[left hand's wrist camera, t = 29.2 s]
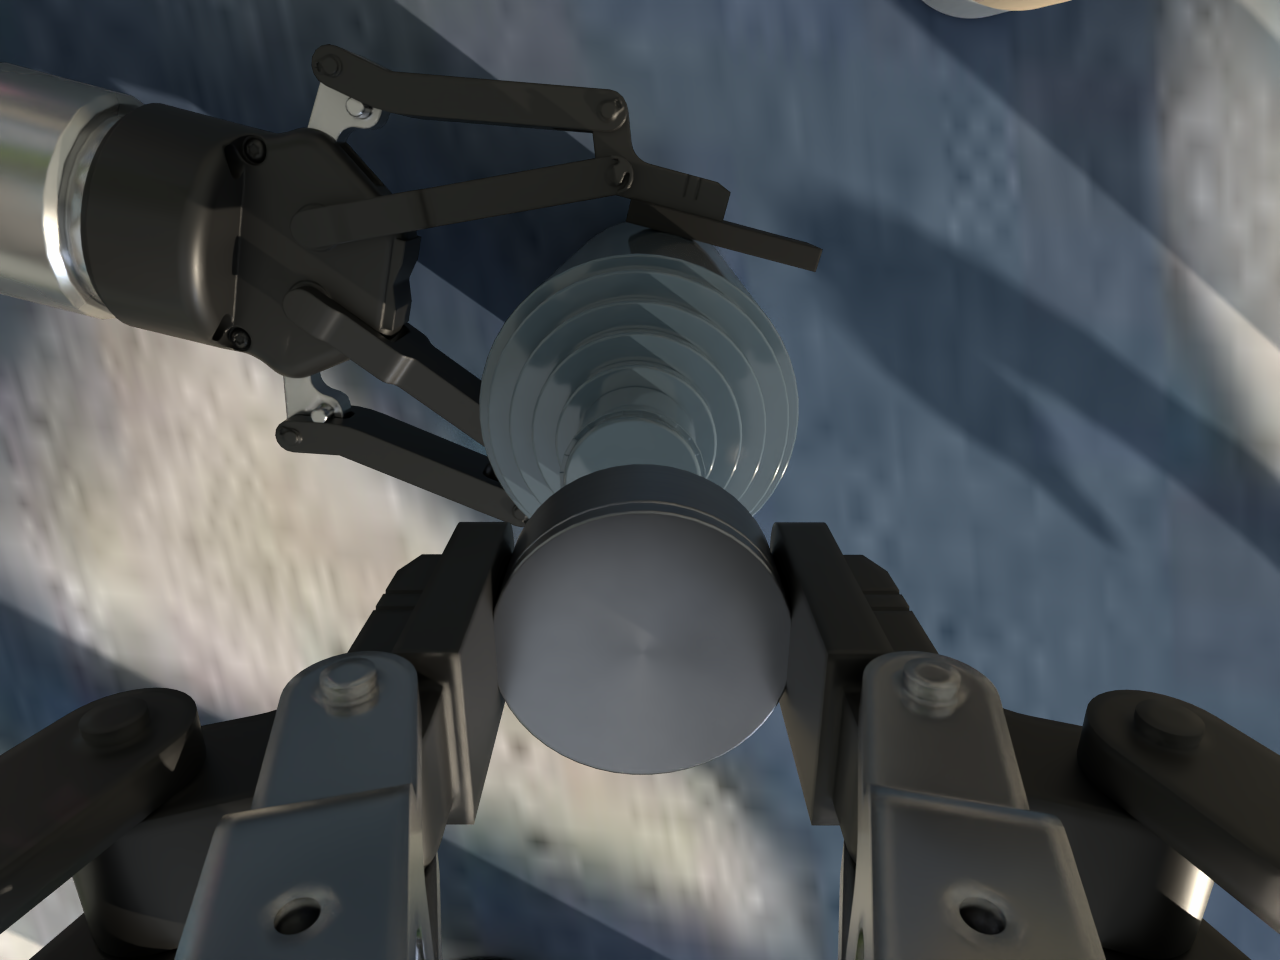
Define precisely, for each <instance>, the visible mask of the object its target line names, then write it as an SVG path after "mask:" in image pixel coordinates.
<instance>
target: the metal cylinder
mask: <svg viewBox="0 0 1280 960" xmlns="http://www.w3.org/2000/svg"><path fill="white" fill-rule="evenodd" d="M493 621H494V635H495V649H496V662H497V676H498V687H499V690H500V692H501V694H502V696H503V698H504V699H505V701H506V703H507V705H508V707H509V708H510V710H511V711H512V712H513V714H514V715H515V716H516V718H517V719H518V720H519V722H520V723H521V724H522V725H523V726H524V727H525V728H526V729H527V730H528V731H529V732H530V733H531V734H532V735H533V736H535V737H536V738H537V739H539V740H540V741H541V742H542V743H544V744H545V745H546V746H548V747H549V748H551V749H553V750H554V751H556V752H558V753H559V754H561V755H563V756H565V757H567V758H569V759H571V760H573V761H576V762H578V763H581V764H584V765H587V766H590V767H593V768H596V769H600V770H605V771H609V772H614V773H623V774H632V775H652V774H661V773H670V772H675V771H680V770H684V769H689V768H692V767H695V766H698V765H701V764H704V763H706V762H709V761H711V760H713V759H715V758H717V757H719V756H722V755H723V754H725V753H727V752H728V751H730V750H732V749H733V748H735V747H737V746H738V745H739V744H741V743H742V742H743V741H745V740H746V739H747V738H748V737H750V736H751V735H752V734H753V733H754V732H755V731H756V730H757V729H758V728H759V727H760V726H761V725H762V724H763V723H764V722H765V721H766V719H767V718H768V717H769V715H770V714H771V713H772V711H773V710H774V709H775V707H776V706H777V704H778V702H779V700H780V699H781V697H782V695H783V693H784V691H785V688H786V682H787V669H788V656H789V643H790V630H791V608H790V605H789V602H788V599H787V597H786V594H785V591H784V588H783V585H782V582H781V579H780V576H779V573H778V571H777V568H776V565H775V562H774V559H773V556H772V553H771V550H770V548H769V545H768V543H767V540H766V538H765V535H764V534H763V532H762V530H761V528H760V527H759V525H758V523H757V522H756V520H755V519H754V518H753V516H752V515H751V514H750V513H749V511H748V510H747V509H746V508H745V507H744V506H743V505H742V504H741V503H740V502H739V501H738V500H737V499H736V498H735V497H734V496H733V495H731V494H730V493H728V492H727V491H726V490H724V489H723V488H722V487H720V486H719V485H717V484H715V483H713V482H711V481H710V480H708V479H706V478H704V477H701V476H699V475H696V474H694V473H691V472H689V471H685V470H681V469H678V468H674V467H670V466H662V465H654V464H631V465H623V466H615V467H611V468H607V469H603V470H599V471H595V472H593V473H590V474H588V475H585V476H583V477H580V478H578V479H576V480H575V481H573V482H571V483H569V484H567V485H565V486H564V487H562V488H561V489H560V490H558V491H557V492H556V493H554V494H553V495H552V496H550V497H549V498H548V499H547V500H546V501H545V502H544V503H543V504H542V505H541V506H540V507H539V508H538V509H537V510H536V511H535V513H534V514H533V515H532V516H531V518H530V519H529V520H528V522H527V523H526V525H525V527H524V529H523V530H522V532H521V534H520V535H519V538H518V540H517V543H516V545H515V548H514V550H513V553H512V556H511V559H510V562H509V565H508V568H507V571H506V574H505V577H504V580H503V583H502V586H501V589H500V592H499V595H498V598H497V601H496V604H495V607H494V611H493Z"/></svg>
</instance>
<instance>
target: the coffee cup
mask: <svg viewBox="0 0 1280 960" xmlns="http://www.w3.org/2000/svg"><path fill="white" fill-rule="evenodd" d="M922 1H923V2H924V3H926V4H927V5H929V6H930V7H932V8H933V9H935V10H937V11H939V12H941V13H944V14H946V15H950V16H953V17H959V18H982V17H988V16H992V15H996V14H1000V13H1004V12H1008V11H1021V10H1031V9H1036V8H1041V7H1045V6H1049V5H1053V4H1057V3H1062V2H1066V1H1070V0H922Z"/></svg>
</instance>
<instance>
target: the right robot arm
mask: <svg viewBox="0 0 1280 960" xmlns="http://www.w3.org/2000/svg"><path fill="white" fill-rule="evenodd" d="M312 69H313V72H314V75H315V76H316V78H317V79H318V80H319V81H320V85H319V89H318V92H317V96H316V100H315V103H314V107H313V110H312V114H311V117H310V121H309V125H308V128H299V129H295V130H292V131H289V132H285V133H272V132H268V131H264V130H260V129H257V128H253V127H249V126H245V125H241V124H237V123H234V122H230V121H226V120H222V119H218V118H215V117H211V116H207V115H203V114H199V113H195V112H192V111H188V110H184V109H180V108H176V107H173V106H169V105H165V104H161V103H151V104H146V105H144V104H143V103H141V102H140V101H139V100H137V99H136V98H135V97H133V96H131V95H127V94H123V93H119V92H116V91H112V90H108V89H104V88H101V87H97V86H93V85H89V84H85V83H82V82H78V81H74V80H70V79H66V78H63V77H59V76H55V75H51V74H48V73H44V72H40V71H36V70H32V69H29V68H25V67H21V66H17V65H13V64H10V63H1V62H0V294H2V295H6V296H10V297H14V298H19V299H23V300H27V301H31V302H35V303H39V304H43V305H47V306H51V307H55V308H59V309H63V310H67V311H71V312H75V313H79V314H83V315H87V316H91V317H95V318H99V319H112V318H117V319H119V320H120V321H121V322H123V323H125V324H127V325H129V326H133V327H137V328H141V329H145V330H149V331H153V332H157V333H162V334H166V335H170V336H174V337H178V338H182V339H186V340H190V341H195V342H199V343H203V344H207V345H211V346H215V347H219V348H224V349H229V350H234V351H239V352H244V353H247V354H250V355H252V356H254V357H256V358H258V359H260V360H261V361H263V362H264V363H265V364H267V365H268V366H269V367H270V368H271V369H273V370H274V371H275V372H277V373H279V374H281V375H283V378H284V389H285V400H286V412H287V419H286V420H285V421H284V422H282V423H281V424H279V426H278V427H277V429H276V434H275V436H276V439H277V442H278V443H279V445H280V446H281V447H282V448H284V449H285V450H287V451H291V452H298V453H313V454H328V455H340V456H342V457H345V458H347V459H350V460H352V461H355V462H357V463H360V464H362V465H365V466H367V467H370V468H372V469H375V470H377V471H380V472H382V473H385V474H387V475H390V476H392V477H395V478H397V479H400V480H402V481H405V482H407V483H410V484H412V485H415V486H417V487H420V488H422V489H425V490H427V491H430V492H432V493H435V494H437V495H440V496H442V497H445V498H447V499H450V500H452V501H455V502H457V503H460V504H462V505H465V506H467V507H470V508H472V509H475V510H477V511H480V512H482V513H485V514H487V515H490V516H492V517H495V518H497V519H500V520H502V521H505V522H510V523H511V524H512V525H515V526H519V527H525V525H526V523H527V522H528V520H529V518H528V517H527V516H526V515H525V514H524V513H523V512H522V511H521V510H520V509H519V508H518V507H517V506H516V505H515V503H514V502H513V501H512V500H511V498H510V497H509V496H508V494H507V493H506V492H505V490H504V488H503V487H502V485H501V483H500V482H499V480H498V478H497V477H496V475H495V472H494V470H493V468H492V465H491V463H490V461H489V459H488V457H487V456H485V455H482V454H480V453H478V452H475V451H473V450H470V449H468V448H465V447H463V446H461V445H458V444H456V443H453V442H451V441H448V440H446V439H444V438H441V437H439V436H436V435H434V434H431V433H429V432H427V431H424V430H422V429H419V428H417V427H414V426H412V425H410V424H407V423H405V422H402V421H400V420H397V419H395V418H393V417H390V416H388V415H385V414H383V413H380V412H377V411H374V410H371V409H368V408H363V407H359V406H351V405H350V401H349V398H348V396H347V395H346V394H344V393H343V392H341V391H339V390H336V389H333V388H330V387H329V386H327V385H326V384H325V383H324V382H323V380H322V378H321V375H320V372H321V371H323V370H326V369H328V368H331V367H333V366H335V365H338V364H340V363H343V362H345V361H347V360H350V359H351V360H352V361H353V362H355V363H356V364H358V365H359V366H361V367H362V368H363V369H365V370H366V371H368V372H369V373H371V374H372V375H373V376H375V377H376V378H378V379H379V380H381V381H383V382H385V383H388V384H394V385H396V386H398V387H400V388H401V389H403V390H404V391H406V392H407V393H408V394H410V395H411V396H413V397H414V398H416V399H417V400H418V401H420V402H421V403H423V404H424V405H426V406H427V407H428V408H430V409H431V410H433V411H434V412H436V413H437V414H438V415H440V416H441V417H443V418H444V419H446V420H447V421H448V422H450V423H451V424H453V425H454V426H456V427H457V428H458V429H460V430H461V431H463V432H464V433H466V434H467V435H468V436H470V437H471V438H473V439H474V440H476V441H477V442H478V443H480V444H481V445H483V446H484V447H485V445H484V442H483V438H482V431H481V425H480V411H479V397H480V389H481V380H480V379H478V378H477V377H476V376H474V375H473V374H471V373H470V372H469V371H467V370H466V369H464V368H463V367H462V366H460V365H459V364H458V363H456V362H455V361H453V360H452V359H451V358H449V357H448V356H446V355H445V354H444V353H442V352H441V351H439V350H438V349H437V348H435V347H434V346H433V345H432V344H431V343H430V341H429V339H428V338H427V337H426V336H425V335H424V334H423V333H421V332H420V331H419V330H417V329H416V328H414V327H413V326H412V325H410V324H409V323H407V322H408V321H409V315H410V308H411V302H412V300H411V291H410V283H409V277H410V275H411V273H412V270H413V268H414V266H415V264H416V261H417V259H418V255H419V248H420V241H421V237H420V236H417V234H416V230H421V229H426V228H431V227H437V226H442V225H448V224H454V223H459V222H465V221H471V220H477V219H482V218H488V217H494V216H499V215H505V214H511V213H516V212H522V211H528V210H533V209H539V208H545V207H551V206H556V205H562V204H568V203H573V202H579V201H585V200H590V199H596V198H602V197H607V196H613V195H618V196H621V197H625V198H629V199H631V202H630V206H629V210H628V214H627V219H626V222H628V223H632V224H635V225H639V226H643V227H647V228H650V229H654V230H658V231H662V232H666V233H669V234H674V235H677V236H681V237H685V238H688V239H692V240H696V241H700V242H704V243H707V244H711V245H715V246H719V247H722V248H726V249H730V250H734V251H738V252H741V253H745V254H749V255H753V256H757V257H760V258H764V259H768V260H772V261H776V262H779V263H783V264H787V265H791V266H794V267H798V268H802V269H806V270H810V271H813V272H816V269H817V266H818V262H819V259H820V256H821V253H822V250H823V249H821V248H818V247H816V246H814V245H812V244H809V243H807V242H803V241H799V240H795V239H792V238H788V237H784V236H780V235H777V234H773V233H769V232H765V231H762V230H758V229H754V228H750V227H747V226H743V225H739V224H735V223H732V222H728V221H724V220H723V218H724V215H725V211H726V207H727V204H728V200H729V196H730V193H731V192H729V191H728V190H727V189H725V188H724V187H723V186H722V185H720V184H719V183H718V182H715V181H711V180H707V179H704V178H700V177H696V176H692V175H689V174H685V173H681V172H678V171H674V170H670V169H667V168H663V167H659V166H655V165H652V164H648V163H646V162H644V161H642V160H641V159H640V158H639V157H638V156H637V155H636V154H635V152H634V150H633V147H632V142H631V132H630V122H629V112H628V107H627V104H626V102H625V100H624V98H623V97H622V96H621V95H620V94H619V93H618V92H616V91H613V90H610V89H598V88H586V87H574V86H562V85H550V84H538V83H526V82H514V81H502V80H490V79H477V78H465V77H453V76H441V75H429V74H417V73H405V72H393V71H391V70H389V69H387V68H385V67H383V66H381V65H379V64H377V63H375V62H372V61H370V60H368V59H366V58H364V57H362V56H360V55H357V54H355V53H352V52H350V51H347V50H345V49H342V48H340V47H337V46H334V45H330V44H328V45H322V46H321V47H319V48H318V49H317V50H316V51H315V53H314V55H313V57H312ZM390 113H395V114H399V115H403V116H407V117H412V118H419V119H426V120H438V121H451V122H463V123H475V124H487V125H499V126H511V127H524V128H536V129H548V130H560V131H572V132H585V133H593V141H594V150H595V158H594V159H588V160H583V161H577V162H572V163H566V164H560V165H555V166H549V167H544V168H538V169H532V170H527V171H521V172H516V173H510V174H505V175H499V176H493V177H488V178H482V179H477V180H471V181H465V182H460V183H454V184H449V185H443V186H438V187H432V188H426V189H420V190H413V191H407V192H402V193H396V194H392V193H391V192H390V191H389V190H388V188H387V187H386V186H385V185H384V184H383V183H382V182H381V181H380V179H379V178H378V177H377V176H376V175H375V174H374V173H373V172H372V170H371V169H370V168H369V167H368V166H367V165H366V164H365V163H364V162H363V160H362V159H361V158H360V157H359V156H358V155H357V154H356V153H355V151H354V150H353V149H352V148H351V147H350V146H349V145H348V143H347V142H346V140H347V138H348V136H349V135H350V134H351V133H352V132H353V131H354V130H356V129H361V128H364V129H370V130H376V129H379V128H381V127H383V126H384V125H385V124H386V122H387V120H388V118H389V115H390Z"/></svg>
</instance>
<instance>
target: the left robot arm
mask: <svg viewBox="0 0 1280 960" xmlns="http://www.w3.org/2000/svg"><path fill="white" fill-rule="evenodd" d="M513 550H514V539H513V531H512V526H511V523H510V522H459V523H458V525H457V526H456V528H455V530H454V532H453V534H452V536H451V538H450V540H449V542H448V544H447V546H446V548H445V550H444V551H443V553H442V554H422V555H420V556H419V557H417V558H416V559H414V560H413V561H411V562H410V563H408V564H407V565H405V566H404V567H402V568H401V569H400V570H398V571H397V572H396V574H395V576H394V577H393V579H392V581H391V582H390V584H389V586H388V587H387V589H386V594H383V595H382V597H381V599H380V600H379V602H378V604H377V605H376V610H373V612H372V613H371V615H370V617H369V618H368V620H367V622H366V623H365V625H364V626H363V628H362V630H361V631H360V633H359V635H358V636H357V638H356V640H355V641H354V643H353V645H352V646H351V648H350V649H349V651H348V653H345V654H341V655H337V656H333V657H330V658H327V659H325V660H322V661H320V662H317V663H315V664H313V665H311V666H309V667H308V668H306V669H304V670H303V671H301V672H300V673H299V674H297V675H296V676H295V677H294V678H292V679H291V680H290V681H289V682H288V684H287V685H286V687H285V688H284V689H283V692H282V694H281V697H280V700H279V704H278V708H277V710H274V711H271V712H267V713H263V714H259V715H254V716H249V717H244V718H239V719H234V720H229V721H224V722H219V723H214V724H209V725H203V726H201V725H200V720H199V716H198V712H197V707H196V704H195V701H194V700H193V699H192V698H191V697H190V696H189V695H187V694H186V693H184V692H181V691H178V690H174V689H168V688H144V689H137V690H130V691H126V692H121V693H117V694H114V695H110V696H107V697H104V698H101V699H99V700H96V701H93V702H91V703H89V704H87V705H84V706H82V707H80V708H78V709H76V710H74V711H73V712H71V713H69V714H67V715H66V716H64V717H62V718H61V719H59V720H57V721H56V722H54V723H53V724H51V725H49V726H48V727H46V728H44V729H43V730H41V731H39V732H38V733H36V734H35V735H33V736H31V737H30V738H28V739H26V740H25V741H23V742H22V743H20V744H18V745H17V746H15V747H13V748H12V749H10V750H8V751H7V752H5V753H4V754H2V755H0V934H1V933H2V932H4V931H5V930H6V929H7V928H9V927H10V926H11V925H12V924H14V923H15V922H16V921H17V920H19V919H20V918H21V917H22V916H24V915H25V914H26V913H27V912H29V911H30V910H31V909H32V908H34V907H35V906H36V905H37V904H39V903H40V902H41V901H42V900H44V899H45V898H46V897H47V896H49V895H50V894H51V893H52V892H54V891H55V890H56V889H57V888H59V887H60V886H61V885H62V884H64V883H65V882H66V881H67V880H69V879H70V878H71V877H73V880H74V883H75V886H76V889H77V892H78V895H79V898H80V901H81V905H82V908H83V911H84V913H83V914H82V915H81V916H80V917H78V918H77V919H76V920H75V921H74V922H73V923H71V924H70V925H69V926H68V927H67V928H66V929H64V930H63V931H62V932H61V933H60V934H59V935H57V936H56V937H55V938H54V939H53V940H52V941H50V942H49V943H48V944H47V945H46V946H45V947H43V948H42V949H41V950H40V951H39V952H37V953H36V954H35V955H34V956H33V957H32V958H30V959H29V960H442V942H441V906H440V872H439V863H438V854H437V851H438V848H439V846H440V843H441V840H442V836H443V833H444V830H445V826H446V824H474V822H475V818H476V814H477V810H478V806H479V802H480V798H481V794H482V790H483V786H484V782H485V778H486V774H487V771H488V767H489V763H490V759H491V755H492V751H493V747H494V743H495V739H496V735H497V731H498V727H499V723H500V719H501V715H502V712H503V708H504V704H505V699H504V698H503V696H502V694H501V692H500V690H499V687H498V676H497V662H496V649H495V635H494V621H493V611H494V607H495V604H496V601H497V598H498V595H499V592H500V589H501V586H502V583H503V580H504V577H505V574H506V571H507V568H508V565H509V562H510V559H511V556H512V553H513ZM770 550H771V553H772V556H773V559H774V562H775V565H776V568H777V571H778V573H779V576H780V579H781V582H782V585H783V588H784V591H785V594H786V597H787V599H788V602H789V605H790V608H791V630H790V643H789V656H788V669H787V682H786V688H785V691H784V693H783V695H782V697H781V699H780V700H779V703H780V706H781V710H782V714H783V718H784V722H785V725H786V729H787V733H788V737H789V741H790V745H791V748H792V752H793V756H794V760H795V764H796V767H797V771H798V775H799V779H800V783H801V786H802V790H803V794H804V798H805V802H806V805H807V809H808V813H809V817H810V821H811V825H840V827H841V831H842V834H843V837H844V845H843V854H842V863H841V872H840V906H839V942H838V960H1251V959H1250V958H1248V957H1247V956H1246V955H1245V954H1244V953H1243V952H1241V951H1240V950H1239V949H1238V948H1237V947H1236V946H1234V945H1233V944H1232V943H1231V942H1230V941H1228V940H1227V939H1226V938H1225V937H1224V936H1223V935H1221V934H1220V933H1219V932H1218V931H1217V930H1216V929H1214V928H1213V927H1212V926H1211V925H1210V924H1209V923H1207V922H1206V921H1205V920H1204V919H1203V918H1202V917H1203V914H1204V911H1205V908H1206V905H1207V902H1208V899H1209V896H1210V893H1211V890H1212V887H1213V884H1214V882H1215V883H1217V884H1218V885H1219V886H1220V887H1222V888H1223V889H1224V890H1225V891H1226V892H1228V893H1229V894H1230V895H1231V896H1233V897H1234V898H1235V899H1236V900H1238V901H1239V902H1240V903H1241V904H1243V905H1244V906H1245V907H1246V908H1248V909H1249V910H1250V911H1251V912H1253V913H1254V914H1255V915H1256V916H1258V917H1259V918H1260V919H1261V920H1263V921H1264V922H1265V923H1266V924H1268V925H1269V926H1270V927H1271V928H1273V929H1274V930H1275V931H1276V932H1278V933H1279V934H1280V755H1278V754H1276V753H1275V752H1273V751H1272V750H1270V749H1268V748H1267V747H1265V746H1263V745H1262V744H1260V743H1258V742H1257V741H1255V740H1254V739H1252V738H1250V737H1249V736H1247V735H1245V734H1244V733H1242V732H1241V731H1239V730H1237V729H1236V728H1234V727H1232V726H1231V725H1229V724H1227V723H1226V722H1224V721H1223V720H1221V719H1219V718H1218V717H1216V716H1214V715H1212V714H1211V713H1209V712H1207V711H1205V710H1203V709H1201V708H1199V707H1197V706H1194V705H1192V704H1190V703H1187V702H1184V701H1182V700H1179V699H1176V698H1173V697H1169V696H1166V695H1162V694H1157V693H1153V692H1146V691H1139V690H1115V691H1109V692H1105V693H1102V694H1100V695H1098V696H1096V697H1095V698H1093V699H1092V700H1091V701H1090V702H1089V704H1088V707H1087V710H1086V714H1085V718H1084V723H1083V726H1079V725H1073V724H1068V723H1063V722H1058V721H1053V720H1048V719H1043V718H1038V717H1033V716H1028V715H1024V714H1020V713H1016V712H1013V711H1010V710H1007V709H1004V708H1002V704H1001V700H1000V697H999V694H998V692H997V689H996V688H995V687H994V685H993V684H992V682H991V681H990V680H989V679H988V678H986V677H985V676H984V675H983V674H981V673H980V672H979V671H977V670H976V669H974V668H972V667H971V666H969V665H967V664H965V663H963V662H960V661H958V660H955V659H953V658H950V657H947V656H943V655H939V654H938V652H937V651H936V649H935V647H934V646H933V644H932V643H931V641H930V639H929V638H928V636H927V635H926V633H925V631H924V630H923V628H922V626H921V625H920V623H919V622H918V620H917V618H916V617H915V615H914V614H913V612H912V611H909V606H908V604H907V602H906V601H905V599H904V598H903V596H902V595H899V589H898V588H897V586H896V585H895V583H894V581H893V580H892V578H891V577H890V575H889V573H888V572H887V571H886V570H884V569H883V568H881V567H880V566H878V565H877V564H875V563H874V562H872V561H871V560H869V559H868V558H866V557H865V556H863V555H843V554H842V552H841V550H840V549H839V547H838V545H837V543H836V541H835V539H834V537H833V535H832V534H831V532H830V530H829V528H828V526H827V524H826V523H824V522H775V523H774V524H773V527H772V532H771V541H770Z"/></svg>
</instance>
